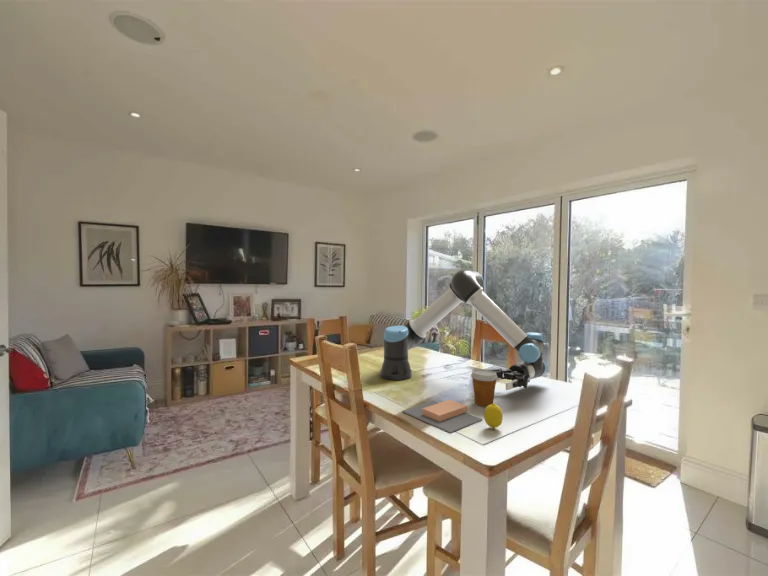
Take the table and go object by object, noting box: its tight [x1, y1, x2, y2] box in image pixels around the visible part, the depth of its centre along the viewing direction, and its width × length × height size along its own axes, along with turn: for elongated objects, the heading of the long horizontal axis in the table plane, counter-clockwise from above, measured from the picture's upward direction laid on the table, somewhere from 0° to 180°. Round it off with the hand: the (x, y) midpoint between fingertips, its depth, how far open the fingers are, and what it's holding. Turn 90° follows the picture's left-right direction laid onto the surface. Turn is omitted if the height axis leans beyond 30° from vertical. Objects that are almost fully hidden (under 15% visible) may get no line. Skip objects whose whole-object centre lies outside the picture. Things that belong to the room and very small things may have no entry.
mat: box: [402, 400, 483, 434], centre depth 121 cm, size 22×16×1 cm
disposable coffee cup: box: [470, 368, 499, 408], centre depth 133 cm, size 10×10×12 cm
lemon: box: [483, 402, 504, 430], centre depth 111 cm, size 6×6×8 cm
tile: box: [422, 399, 468, 422], centre depth 123 cm, size 8×2×14 cm
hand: (490, 382), depth 135 cm, fingers open, 13 cm apart
